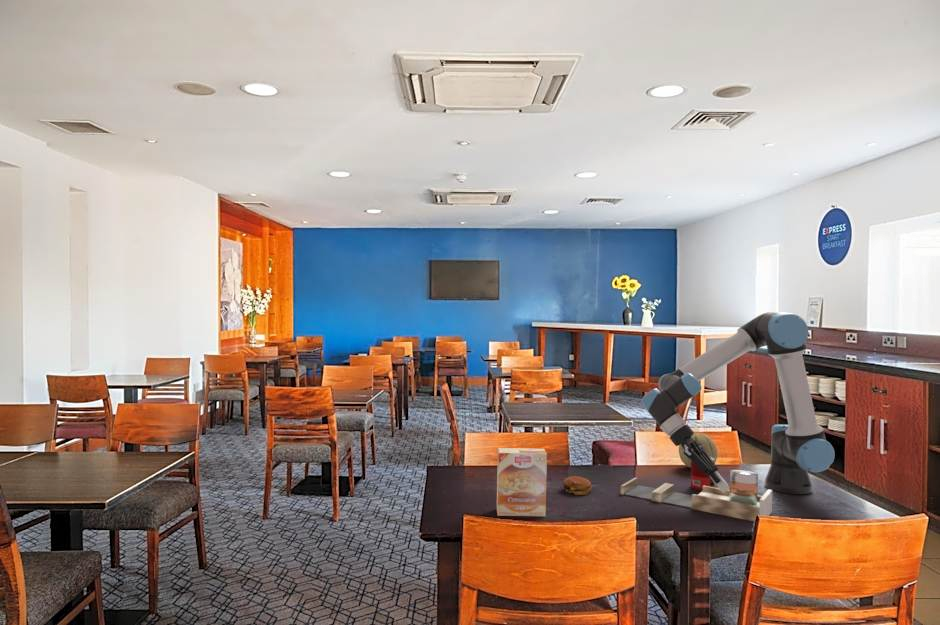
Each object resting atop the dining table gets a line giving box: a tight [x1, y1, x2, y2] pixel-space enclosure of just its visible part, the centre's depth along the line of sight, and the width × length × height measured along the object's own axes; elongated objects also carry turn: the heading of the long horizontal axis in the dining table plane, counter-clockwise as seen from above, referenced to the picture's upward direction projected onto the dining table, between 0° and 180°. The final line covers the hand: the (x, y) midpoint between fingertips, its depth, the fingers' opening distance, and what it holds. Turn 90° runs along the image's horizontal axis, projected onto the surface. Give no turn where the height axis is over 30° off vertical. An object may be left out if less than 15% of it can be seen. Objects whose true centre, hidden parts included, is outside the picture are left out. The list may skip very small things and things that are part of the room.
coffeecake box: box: [496, 447, 548, 517], centre depth 192 cm, size 15×7×20 cm, turn 90°
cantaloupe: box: [678, 432, 719, 469], centre depth 248 cm, size 15×15×15 cm
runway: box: [620, 477, 763, 522], centre depth 205 cm, size 44×13×4 cm, turn 54°
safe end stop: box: [727, 488, 773, 516], centre depth 195 cm, size 12×13×7 cm
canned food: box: [690, 457, 716, 492], centre depth 222 cm, size 8×8×11 cm
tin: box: [729, 469, 759, 505], centre depth 197 cm, size 8×8×9 cm
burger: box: [562, 475, 593, 496], centre depth 216 cm, size 10×9×5 cm
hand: (727, 490), depth 197 cm, fingers closed
